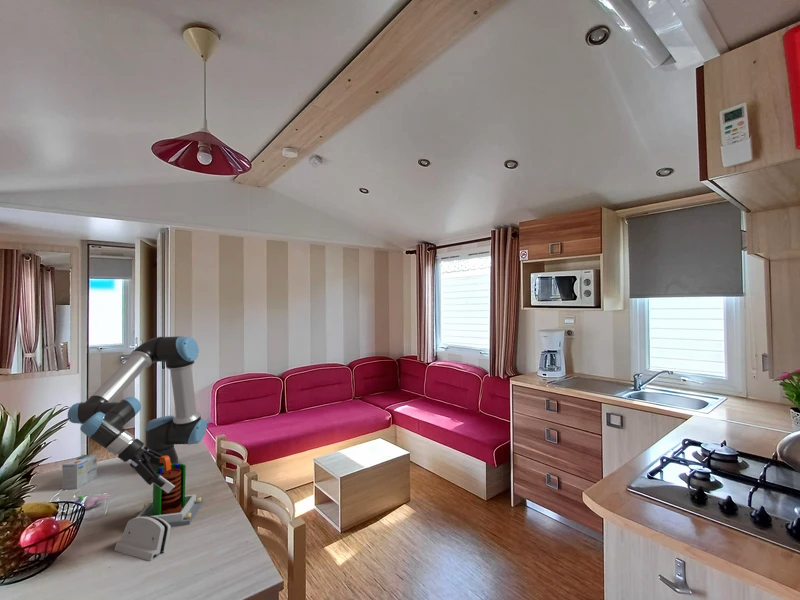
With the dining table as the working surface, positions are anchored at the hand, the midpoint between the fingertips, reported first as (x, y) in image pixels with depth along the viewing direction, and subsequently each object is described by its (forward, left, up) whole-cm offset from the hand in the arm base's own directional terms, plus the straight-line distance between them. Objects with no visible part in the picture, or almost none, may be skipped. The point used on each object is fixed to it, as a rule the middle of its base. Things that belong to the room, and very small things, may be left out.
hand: (175, 481), depth 133 cm
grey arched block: (+19, -2, -12) cm, 22 cm away
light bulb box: (-38, -51, -12) cm, 65 cm away
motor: (0, -2, -11) cm, 11 cm away
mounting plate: (0, -2, -12) cm, 12 cm away
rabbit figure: (-12, -35, -12) cm, 39 cm away
